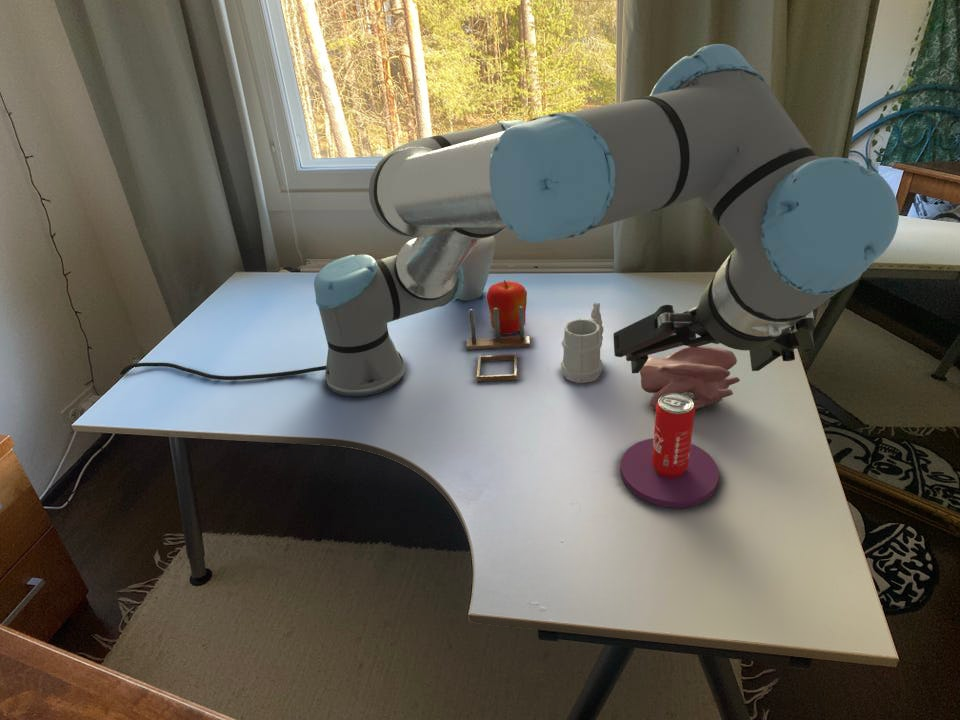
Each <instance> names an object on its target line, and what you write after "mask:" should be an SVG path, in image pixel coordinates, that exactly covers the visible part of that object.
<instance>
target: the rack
mask: <svg viewBox="0 0 960 720" xmlns="http://www.w3.org/2000/svg"><path fill="white" fill-rule="evenodd" d="M493 311H494V324H495V330H494V334H495V335H494V336H495V337H485V338H484V337H483V338H482V337H481V338H477V333H476V321H475V311H474V309H472V308H470V309H469V310H468V319H469V320H468V321H469V329H470V338H467V340H466V350H484V349H485V350H486V349H487V350H488V349H509V348H528V347H529V348H530V347H531V338H530V335H529V336H528V335H526V333H525V325H524V311H523V307H519V308H518V311H519V329H520V330H519V336H504V337H501V333H500V325H499V311H498V308H494V310H493ZM492 361H494V362H496V361H513V373H510V374H485V375H481V370H482V362H492ZM476 370H477V371H476V382H494V381H495V382H496V381H497V382H498V381H516V380H518V353H515V354H491V355H489V354H488V355H478V358H477V368H476Z"/></svg>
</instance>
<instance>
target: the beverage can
mask: <svg viewBox="0 0 960 720" xmlns="http://www.w3.org/2000/svg"><path fill="white" fill-rule="evenodd" d="M695 415H696V409H695V407H694V403H693V399H692V398H691V397H689V396H688V395H686V394H684V393H683V394H679V393H669V394H665V395H663V396H661V397H660V399H659V401H658V403H657V405H656V409H655V417H654V427H653V428H654V429H653V450H652V464H653V466H654V469H655V471H656V472H657V473H658V474H659V475H661V476H663V477H666V478H677V477H680V476H681V475H683V473H684V471H685V470H686V469H687V467H688V463H689V455H690V447H691V444H692V440H693V439H692V438H693V430H694V423H695Z"/></svg>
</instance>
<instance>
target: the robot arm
mask: <svg viewBox="0 0 960 720" xmlns="http://www.w3.org/2000/svg"><path fill="white" fill-rule="evenodd" d="M368 187H369V188H368V197H369V203H370V206H371V208H372V212H374V213H373V214H374V215H375V217H376V218H377V220H379V221H380V223H381V224H382V225H383V226H384V227H385V228H387V230H389V231H391V232H393V233H395V234H398V235H399V236H403V237H411V238H412V239H410V240H408V241H407V242H406V243H405V244H403V245H402V247H401V248H400V249H399V251H398V253H397V254H395V255H391V256H387V257H385V258H380V259H378V260H375V258H374V257H372V256H370V255H368V254H364V253H363V254H361V253H360V254H359V253H358V254H357V255H355V254H350V255H346V256H343V257H340V258H338V259H335V260H333V261H330V262H329V263H327V264H326V265H324V266H323V267H322V268H320V270H319V271H318V272H317V273H316V275H315V277H314V280H313V288H314V294H315V304H316V306H317V308H318V311H319V315H320V317H321V318H320V319H321V323H322V328H323V331H324V336H325V339H326V343H327V355H326V363H325V364H326V365H320V366H314V367H308V368H303V369H295V370H289V371H281V372H280V371H279V372H271V373H270V372H269V373H258V374H246V375H244V374H243V375H217V374H210V373H206V372H203V371H200V370H197V369H193V368H189V367H185V366H182V365H178V364H175V363H171V362H136V363H132V364H129V365H127V366H125V367H124V368H123V369H122V370H121V371H120V373H119V375H124V374H126V373H127V372H128V371H130V370H132V369H135V368H142V367H144V368H145V367H164V368H165V367H166V368H172V369H176V370H179V371H182V372H185V373H190V374H194V375H197V376H200V377H203V378H206V379H212V380H217V381H218V380H220V381H243V380H254V379H255V380H256V379H270V378H279V377H287V376H295V375H302V374H308V373H313V372H320V371H325V375H324V376H325V380H326V384H327V386H328V388H329V389H330V390H331V391H332V392H333V393H335V394H337V395H339V396H343V397H350V398H359V397H360V398H361V397H368V396H372V395H377V394H379V393H382V392H384V391H387V390H389V389H390V388H392V387H394V386H395V385H396V384H397V383H398V382H400V381H401V380H402V378H403V376H404V374H405V364H404V359H403V356H402V355H401V352H399V350H397V348H396V346H395V343H394V341H393V340H392V338H391V336H390V333H389V328H388V324H389V323H392V322H395V321H397V320H398V321H399V320H400V319H403V318H407V317H409V316H413V315H417V314H419V313H423V312H427V311H430V310H432V309H437V308H440V307H445V306H447V305H449V304H450V303H453V302H455V301H456V300H458V299H457V298H458V297H459V296H460V294H461V292H462V289H463V284H462V282H463V270H462V266H461V263H462V262H463V261H464V260H465V259H466V257H467V256H468V255H469V254H470V252H471V251H472V250H473V249H474V247H475V246H476V245H477V244H478V242H479V241H480V240H481V239H482V238H488V237H491V236H493V237H495V235H497V234H499V233H500V232H502V231H503V230H504V229H508V230H510V231H511V232H514V234H515V235H516V237H518V239H519V240H522V241H523V242H527V243H532V244H533V243H534V244H539V243H544V242H549V241H552V240H561V239H568V238H569V239H570V238H575V237H579V236H582V235H583V234H585V233H586V232H588V231H591V230H593V229H596V228H601V227H603V226H607V225H610V224H613V223H616V222H619V221H622V220H626V219H629V218H633V217H636V216H639V215H643V214H647V213H649V212H655V211H657V210H661V209H664V208H668V207H670V206H674V205H677V204H681V203H685V202H689V201H691V200H696V199H698V198H700V200H701V201H702V202H703V204H704V205H705V207H706V208H707V209H708V211H709V213H710V214H711V215H712V217H713V219H714V220H715V222H716V223H717V225H718V226H720V227H721V229H722V231H723V232H724V234H725V236H727V238H728V240H729V241H730V243H731V245H732V246H733V247H734V249H732V251H731V252H730V254H728V255H727V257H726V258H725V260H724V262H723V263H722V264H721V265H720V267H719V268H718V269H717V270H716V273H715V275H714V276H713V277H712V279H711V280H710V281H709V283H708V284H707V286H706V287H705V289H704V290H703V292H702V294H701V297H700V300H699V302H698V304H697V305H696V306H694V307H691V308H690V309H689V310H687V311H684V312H675V310H674V306H673V305H671V304H664V305H661V306H659V307H658V308H657V309H656V311H655V312H653V313H651V314H649V315H648V316H645V317H643V318H641V319H639V320H637V321H635V322H633V323H631V324H629V325H627V326H625V327H623V328H621V329H619V330H617V331H615V332H613V335H612V337H613V352H614V357H617V358H624V357H625V360H626V362H630V369H631V374H640V370H641V369H642V367H643V366H644V364H645V363H646V361H647V360H648V358H649V355H653V354H657V353H661V352H664V351H669V350H672V349H675V348H680V347H683V346H685V347H688V346H689V347H698V346H707V345H709V344H714V345H719V344H721V345H723V346H725V347H727V348H730V349H733V350H736V351H737V350H738V351H749V358H750V360H749V361H750V367H751V372H759V371H761V370H762V369H763V368H765V367H766V366H768V365H769V364H771V363H773V362H774V361H775V360H777V359H778V358H780V357H781V359H782V361H783V362H791V361H792V362H793V361H795V360H796V354H795V349H800V350H801V352H802V353H808V354H809V353H812V352H814V351H816V348H815V342H814V341H815V340H814V333H813V330H814V329H815V328H816V322H815V315H814V311H815V310H816V309H817V308H819V307H820V306H821V305H823V304H824V303H825V302H827V301H829V299H831V298H832V297H834V296H835V295H837V294H838V293H839V292H840V291H842V290H843V289H845V288H846V287H848V286H850V285H851V284H853V283H855V282H857V281H858V280H859V279H860V278H861V277H862V275H863V273H865V272H867V270H868V269H869V267H870V266H871V265H872V264H873V263H874V262H875V261H876V260H877V259H879V258H880V257H881V256H882V255H883V254H884V253H885V252H886V250H887V249H888V248H889V246H890V244H891V243H893V240H894V238H895V236H896V234H897V230H898V225H899V219H900V211H899V204H898V200H897V198H896V195H895V193H894V191H893V188H892V187H891V185H890V184H889V183H888V182H887V181H886V179H885V178H884V177H883V176H882V175H881V174H880V173H878V171H873V170H870V169H868V168H867V167H864V166H862V165H860V162H859V161H856V160H854V159H852V158H845V157H839V156H837V157H836V156H831V157H820V156H819V155H816V152H815V151H814V150H813V148H812V147H811V145H810V143H808V141H807V140H806V139H805V137H804V135H803V134H802V132H801V131H800V130H799V128H798V127H797V126H796V123H794V121H793V120H792V118H791V117H790V115H789V114H788V113H787V111H786V109H785V108H784V107H783V105H782V104H781V102H780V101H779V100H778V98H777V97H776V95H775V94H774V93H773V91H772V90H771V88H770V85H769V84H768V82H767V80H766V79H765V78H764V77H763V76H762V74H761V73H758V72H757V71H756V70H755V69H754V67H753V66H751V64H750V63H749V62H748V61H747V59H746V58H745V57H744V55H742V53H741V52H740V51H739V50H738V49H737V48H735V47H734V46H731V45H729V44H725V43H714V44H709V45H705V46H702V47H700V48H698V49H697V51H696V52H694V53H693V54H692V55H685V56H682V58H680V59H679V60H678V61H676V62H675V63H674V64H673V65H672V66H670V67H669V68H668V69H667V70H666V71H665V72H664V73H663V74H662V76H660V78H659V79H658V81H657V82H656V83H655V85H654V86H653V88H652V90H651V92H650V94H649V95H646V96H641V97H639V98H638V97H637V98H634V99H632V100H627V101H622V102H616V103H610V104H605V105H600V106H599V105H598V106H595V107H589V108H583V109H580V110H574V111H570V112H555V113H551V114H550V113H549V114H546V115H542V116H537V117H534V118H531V119H529V120H528V121H527V122H526V121H523V120H519V119H515V120H508V121H504V120H498V122H497V123H494V124H489V125H484V126H478V127H473V128H469V129H463V130H458V131H453V132H448V133H443V134H438V135H435V136H434V135H433V136H429V137H428V136H427V137H422V138H418V139H414V140H411V141H409V142H406V143H404V144H402V145H399V146H397V147H396V148H394V149H393V150H391V151H389V152H388V153H386V155H384V156H383V157H382V158H381V160H379V162H378V163H377V164H376V165H375V168H374V169H373V171H372V173H371V176H370V179H369V186H368ZM697 336H698V337H697ZM134 367H135V368H134Z"/></svg>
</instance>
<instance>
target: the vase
mask: <svg viewBox="0 0 960 720" xmlns="http://www.w3.org/2000/svg"><path fill="white" fill-rule="evenodd" d="M495 249H496V239H495V236H491V237H488V238H482V239H481V240H480V241H479V242H478V244H477V245H476V246H475V247H474V249H473V250H472V251H471V252H470V254H469V255H468V256H467V257H466V259H465V260H464V261H463V262H462V263H461V266H462V270H463V282H462V284H463V289H462V292H461V294H460V296H459V297H458V298H457V299H456V300H460V301H464V302H465V301H474V300H477V299H479V298H481V297H482V295H483V293H484V291H485V287H486V284H487V281H488V279H489V274H490V270H491V267H492V263H493V258H494V254H495Z"/></svg>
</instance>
